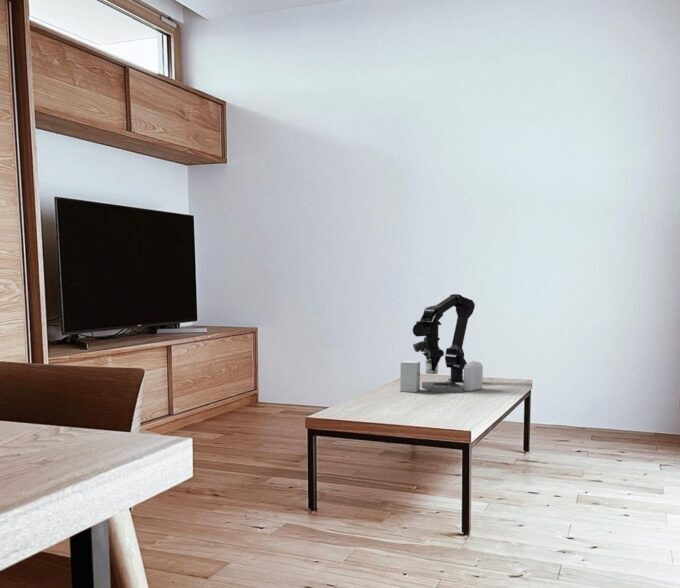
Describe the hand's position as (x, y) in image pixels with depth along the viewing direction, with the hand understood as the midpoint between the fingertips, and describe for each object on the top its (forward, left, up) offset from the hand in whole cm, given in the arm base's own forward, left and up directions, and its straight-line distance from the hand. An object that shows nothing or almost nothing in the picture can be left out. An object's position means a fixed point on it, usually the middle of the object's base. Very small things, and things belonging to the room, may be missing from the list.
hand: (431, 369), depth 309 cm
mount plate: (+13, +1, -7) cm, 15 cm away
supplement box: (+13, -13, -7) cm, 20 cm away
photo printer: (+13, +15, -7) cm, 21 cm away
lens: (0, 0, -2) cm, 2 cm away
